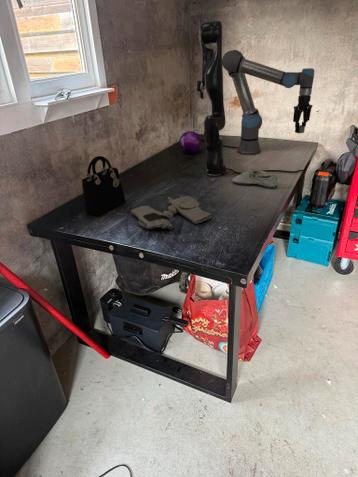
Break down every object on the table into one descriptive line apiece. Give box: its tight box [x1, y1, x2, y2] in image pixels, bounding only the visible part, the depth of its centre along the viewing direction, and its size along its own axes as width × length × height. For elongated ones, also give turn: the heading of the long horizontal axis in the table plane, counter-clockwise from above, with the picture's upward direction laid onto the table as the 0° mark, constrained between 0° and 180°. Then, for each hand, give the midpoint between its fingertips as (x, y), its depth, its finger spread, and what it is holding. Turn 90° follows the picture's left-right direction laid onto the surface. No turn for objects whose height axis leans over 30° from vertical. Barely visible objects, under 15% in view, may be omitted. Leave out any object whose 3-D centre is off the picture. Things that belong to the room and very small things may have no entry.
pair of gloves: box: [130, 195, 212, 230], centre depth 145 cm, size 30×26×5 cm
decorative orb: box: [178, 130, 202, 154], centre depth 230 cm, size 15×15×15 cm
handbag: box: [81, 155, 126, 217], centre depth 153 cm, size 21×9×25 cm, turn 148°
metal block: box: [297, 124, 306, 134], centre depth 224 cm, size 4×4×4 cm
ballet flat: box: [231, 169, 279, 189], centre depth 173 cm, size 8×24×8 cm, turn 61°
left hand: (208, 98), depth 203 cm, fingers open, 8 cm apart
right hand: (299, 132), depth 225 cm, fingers closed on metal block, 4 cm apart
